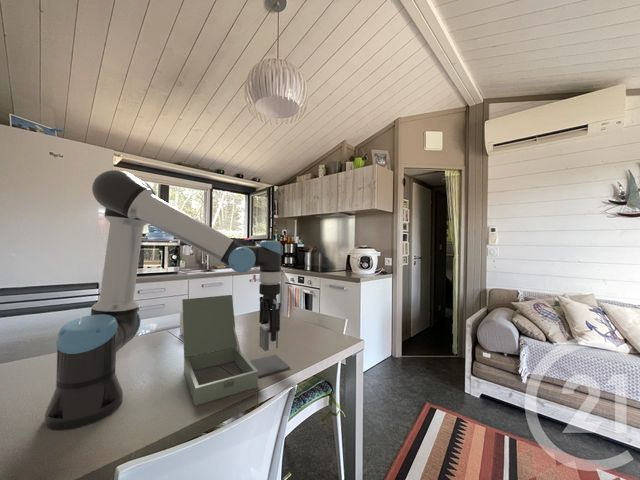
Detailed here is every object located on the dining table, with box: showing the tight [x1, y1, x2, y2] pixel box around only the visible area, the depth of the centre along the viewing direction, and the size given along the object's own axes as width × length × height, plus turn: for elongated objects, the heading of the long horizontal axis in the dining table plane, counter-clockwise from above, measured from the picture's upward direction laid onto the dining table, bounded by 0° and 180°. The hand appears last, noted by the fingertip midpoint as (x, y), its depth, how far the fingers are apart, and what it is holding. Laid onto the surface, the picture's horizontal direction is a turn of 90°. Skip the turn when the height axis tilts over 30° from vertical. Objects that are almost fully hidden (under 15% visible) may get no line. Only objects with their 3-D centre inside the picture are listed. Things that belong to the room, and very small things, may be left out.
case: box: [181, 294, 259, 407], centre depth 89 cm, size 18×31×23 cm, turn 35°
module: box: [258, 323, 279, 352], centre depth 96 cm, size 5×5×8 cm
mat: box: [249, 354, 291, 379], centre depth 96 cm, size 12×12×1 cm
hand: (268, 346), depth 96 cm, fingers closed on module, 5 cm apart
